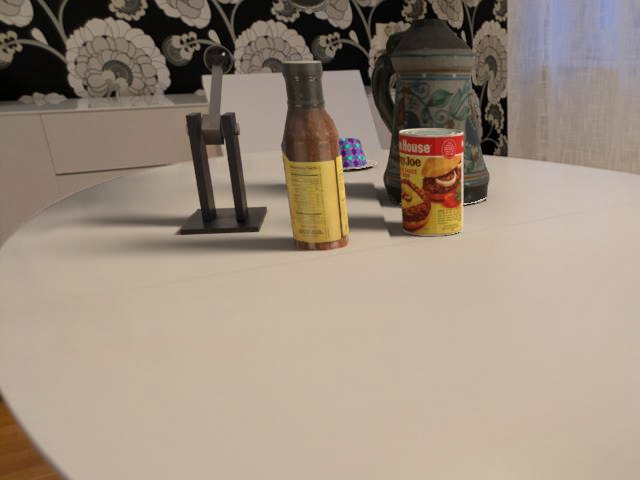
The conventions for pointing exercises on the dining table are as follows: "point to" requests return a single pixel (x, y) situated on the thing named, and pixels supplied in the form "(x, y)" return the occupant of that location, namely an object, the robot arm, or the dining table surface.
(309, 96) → the sauce bottle
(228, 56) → the lever
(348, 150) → the pudding
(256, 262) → the dining table surface
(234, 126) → the bracket
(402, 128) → the beer stein
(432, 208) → the canned food
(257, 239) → the dining table surface
